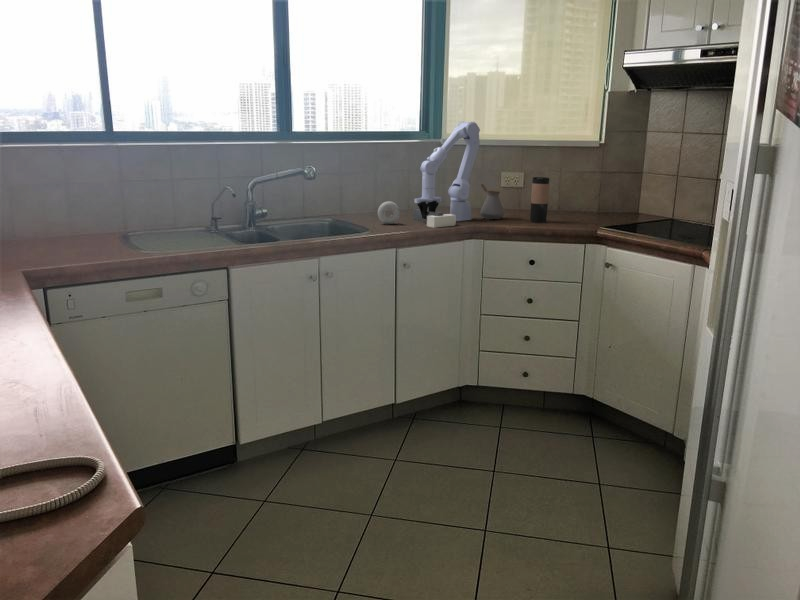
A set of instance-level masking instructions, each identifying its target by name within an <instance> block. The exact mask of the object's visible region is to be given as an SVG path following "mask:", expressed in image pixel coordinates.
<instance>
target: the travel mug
mask: <svg viewBox="0 0 800 600" xmlns="http://www.w3.org/2000/svg"><path fill="white" fill-rule="evenodd" d="M531 183H532V184H531V197H530V198H531V199H530V214H529V215H530V223H533V222H535V224H545V222H546V223H547V217H548V216H547V215H548V207H549V206H548V205H549V194H550V191H549V190H550V177H546V176H545V177H543V176H540V177H539V176H535V177H533V176H532V182H531Z"/></svg>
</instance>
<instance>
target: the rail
mask: <svg viewBox="0 0 800 600" xmlns="http://www.w3.org/2000/svg"><path fill="white" fill-rule="evenodd" d="M412 212H413V213H412V217H413V218H412V219H413V221H417V220H418V221H419V222H422V221H424V223H427V217H426V219H422V215H421V211H420V209H419V208H413V211H412ZM443 214H444V213H443V211H436V210H435V211H430V210H429V209H427V216H432V215H433V216H443Z"/></svg>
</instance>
